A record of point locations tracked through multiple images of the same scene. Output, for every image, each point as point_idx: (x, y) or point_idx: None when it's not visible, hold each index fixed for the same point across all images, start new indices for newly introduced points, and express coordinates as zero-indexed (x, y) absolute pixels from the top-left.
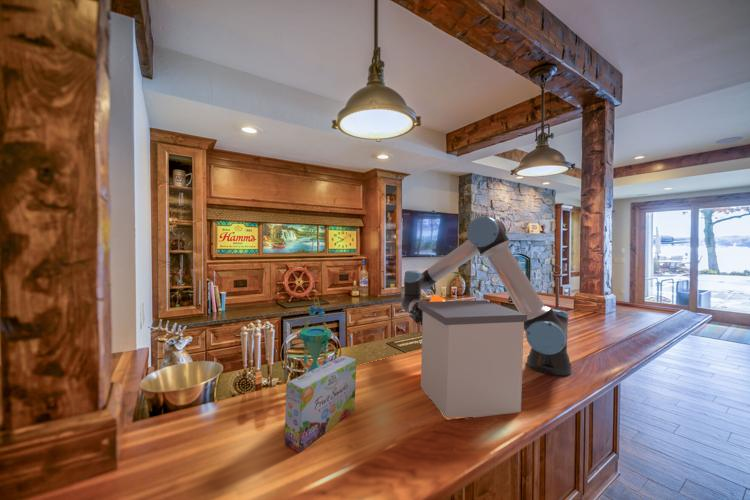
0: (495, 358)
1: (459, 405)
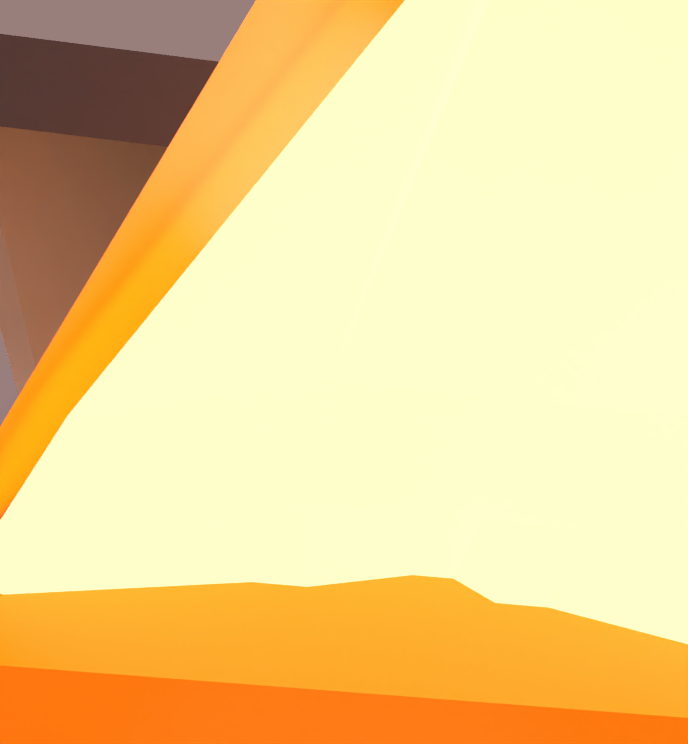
0: None
1: None
